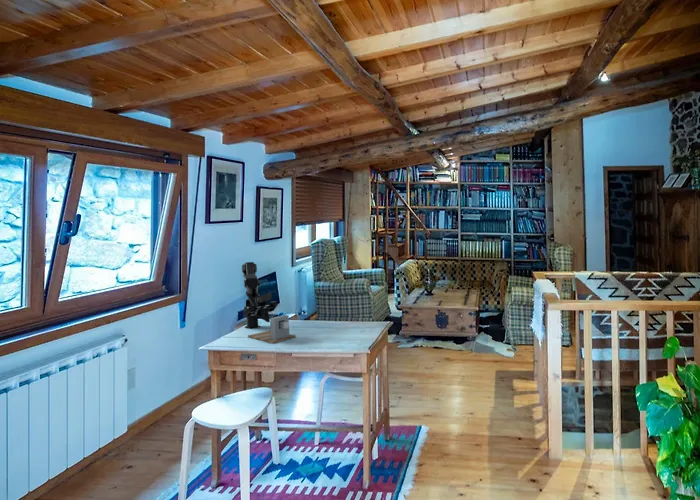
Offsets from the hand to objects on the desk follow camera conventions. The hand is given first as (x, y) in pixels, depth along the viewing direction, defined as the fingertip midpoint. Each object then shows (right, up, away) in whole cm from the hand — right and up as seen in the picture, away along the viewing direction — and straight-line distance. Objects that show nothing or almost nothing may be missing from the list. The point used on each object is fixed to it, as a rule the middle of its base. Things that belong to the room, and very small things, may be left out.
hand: (268, 321), depth 255 cm
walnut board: (+2, -8, -1) cm, 8 cm away
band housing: (+7, -7, -6) cm, 11 cm away
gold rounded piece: (+7, -3, -7) cm, 10 cm away
